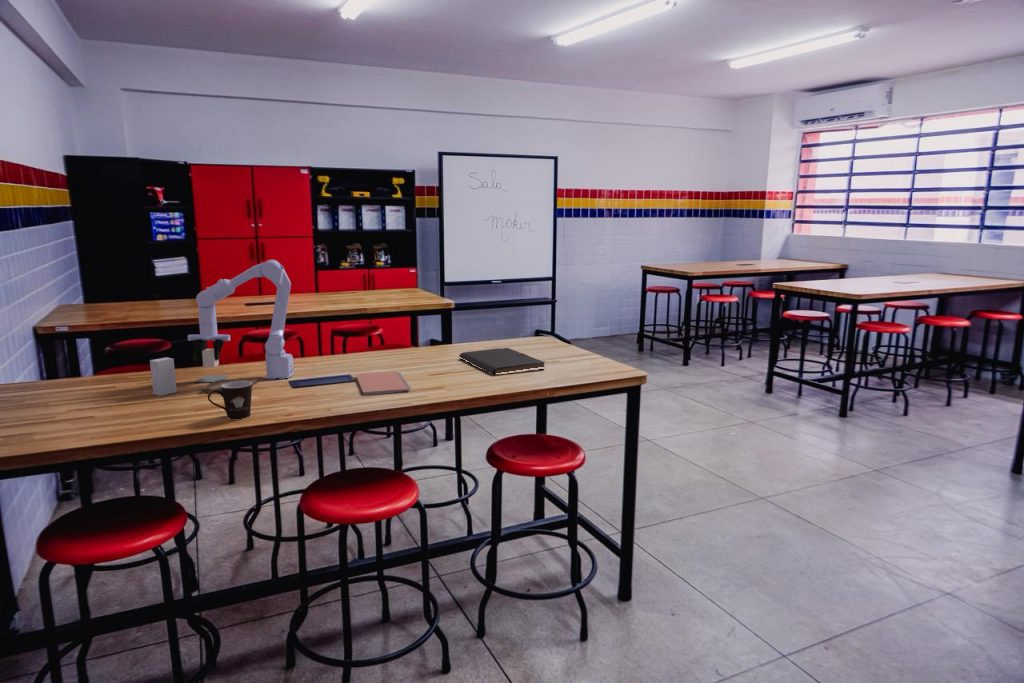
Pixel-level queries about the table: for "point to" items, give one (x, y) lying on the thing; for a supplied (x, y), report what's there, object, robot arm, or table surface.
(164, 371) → the skincare box
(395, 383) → the notebook
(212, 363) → the cream block
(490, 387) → the table surface
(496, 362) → the dark hardcover book
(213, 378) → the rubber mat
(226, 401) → the coffee mug
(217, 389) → the puzzle board
